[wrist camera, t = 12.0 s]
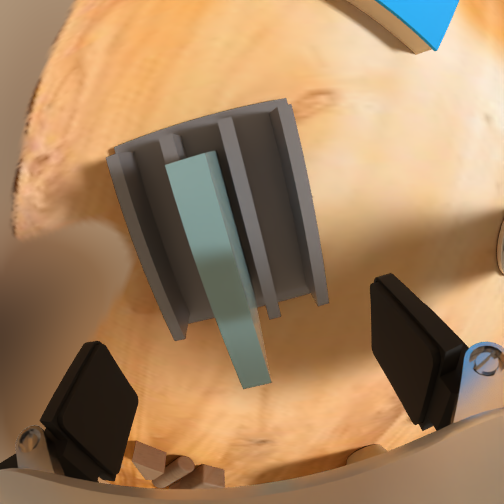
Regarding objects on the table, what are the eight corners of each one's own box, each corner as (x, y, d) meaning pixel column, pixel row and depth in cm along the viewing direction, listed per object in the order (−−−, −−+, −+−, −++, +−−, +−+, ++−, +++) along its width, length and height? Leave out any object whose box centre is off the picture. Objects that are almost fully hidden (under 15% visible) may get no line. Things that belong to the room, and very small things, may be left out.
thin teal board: (216, 150, 23) (204, 152, 11) (252, 280, 27) (271, 382, 15) (197, 155, 23) (165, 164, 11) (235, 284, 27) (243, 389, 15)
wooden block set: (229, 491, 36) (182, 511, 40) (227, 466, 41) (183, 491, 46) (133, 463, 32) (105, 487, 36) (138, 436, 37) (110, 465, 41)
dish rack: (283, 99, 22) (297, 89, 18) (321, 284, 29) (337, 310, 24) (117, 147, 23) (94, 148, 18) (178, 320, 29) (171, 350, 24)
